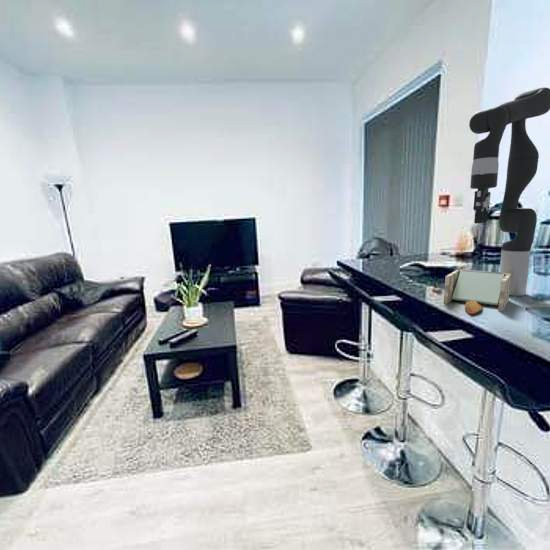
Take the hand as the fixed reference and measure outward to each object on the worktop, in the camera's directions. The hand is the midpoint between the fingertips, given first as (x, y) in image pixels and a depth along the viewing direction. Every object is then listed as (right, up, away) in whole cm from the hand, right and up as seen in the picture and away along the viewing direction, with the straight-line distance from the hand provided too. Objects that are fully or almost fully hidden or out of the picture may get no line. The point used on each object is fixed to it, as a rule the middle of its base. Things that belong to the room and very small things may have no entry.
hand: (480, 222), depth 113 cm
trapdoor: (+5, -22, +9) cm, 24 cm away
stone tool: (+1, -27, +5) cm, 27 cm away
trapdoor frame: (+3, -28, +8) cm, 29 cm away
